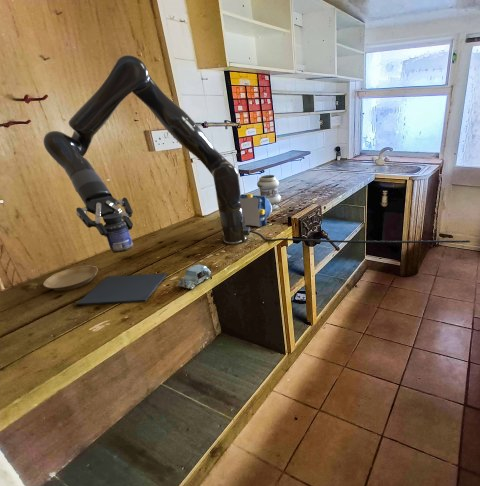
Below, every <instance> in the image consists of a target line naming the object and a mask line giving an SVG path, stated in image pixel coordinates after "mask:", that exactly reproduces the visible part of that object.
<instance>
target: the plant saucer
mask: <svg viewBox="0 0 480 486" xmlns="http://www.w3.org/2000/svg"><path fill="white" fill-rule="evenodd" d="M98 271H99V268H98V267H97V266H95V265H82V266H81V265H80V266H74V267H71V268H67V269H64V270H61V271H59V272H56V273H54V274H52V275H51V276H48V278H46V279H44V281H43V283H42V284H43V287H45V288H47V289H50V290H54V291H59V292H65V291H70V290H76V289H78V288H81V287H83V286H86V285H88V283H90V282H91V281H93V279H94V278H95V277H96V275H97V273H98Z"/></svg>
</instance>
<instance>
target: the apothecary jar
mask: <svg viewBox="0 0 480 486" xmlns="http://www.w3.org/2000/svg"><path fill="white" fill-rule="evenodd" d="M258 178H259V180H258V181H257V183H256V186H257V188H258V189H259V194H260V195H259V196H265V197H266V198H267V199H268V201H269V202H270V204H271V205H272V212H274V211H278V210H280V208H281V207H280V206H279V205H277V204H278V203H280V201H281V200H282V196H281V195H280V194H279V191H278V190H279V189H278V187H279V185H280V181H279V180H278V179H277V178H276V175H274V174H264V175H261V176H259V177H258Z"/></svg>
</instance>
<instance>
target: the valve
mask: <svg viewBox="0 0 480 486" xmlns="http://www.w3.org/2000/svg"><path fill="white" fill-rule="evenodd" d="M240 198H241V206H242V213H243V217H244V218H245V225H246V226H250V227H251V226H253V227H258V228H261V227H263V226H267V218H269V217H270V216H271V215H272V212H273V211H272V205H271V204H270V202H269V201H268V199H267V198H266V197H265V196H261V195H255V194H254V195H253V193H246V194H240Z"/></svg>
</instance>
